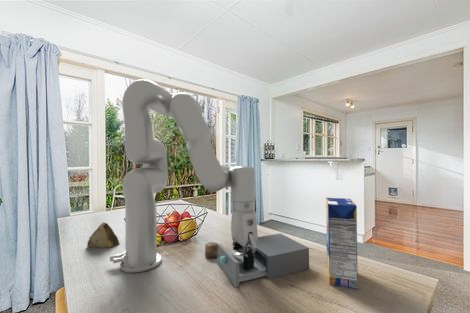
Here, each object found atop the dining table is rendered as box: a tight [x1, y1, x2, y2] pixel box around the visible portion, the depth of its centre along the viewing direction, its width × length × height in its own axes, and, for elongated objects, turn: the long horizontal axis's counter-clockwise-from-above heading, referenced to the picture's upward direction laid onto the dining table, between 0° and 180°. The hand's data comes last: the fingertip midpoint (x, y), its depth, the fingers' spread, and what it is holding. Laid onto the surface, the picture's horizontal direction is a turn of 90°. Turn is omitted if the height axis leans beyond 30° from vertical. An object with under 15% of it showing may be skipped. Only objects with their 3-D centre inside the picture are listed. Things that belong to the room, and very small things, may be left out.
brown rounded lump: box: [204, 241, 219, 260], centre depth 78 cm, size 5×5×4 cm
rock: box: [86, 222, 121, 248], centre depth 89 cm, size 11×9×10 cm
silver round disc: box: [231, 248, 249, 264], centre depth 68 cm, size 7×7×2 cm
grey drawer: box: [217, 243, 267, 288], centre depth 68 cm, size 16×15×6 cm
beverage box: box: [325, 197, 359, 291], centre depth 64 cm, size 7×11×22 cm, turn 161°
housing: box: [246, 232, 310, 280], centre depth 73 cm, size 15×15×6 cm
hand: (243, 263), depth 68 cm, fingers closed on silver round disc, 6 cm apart
